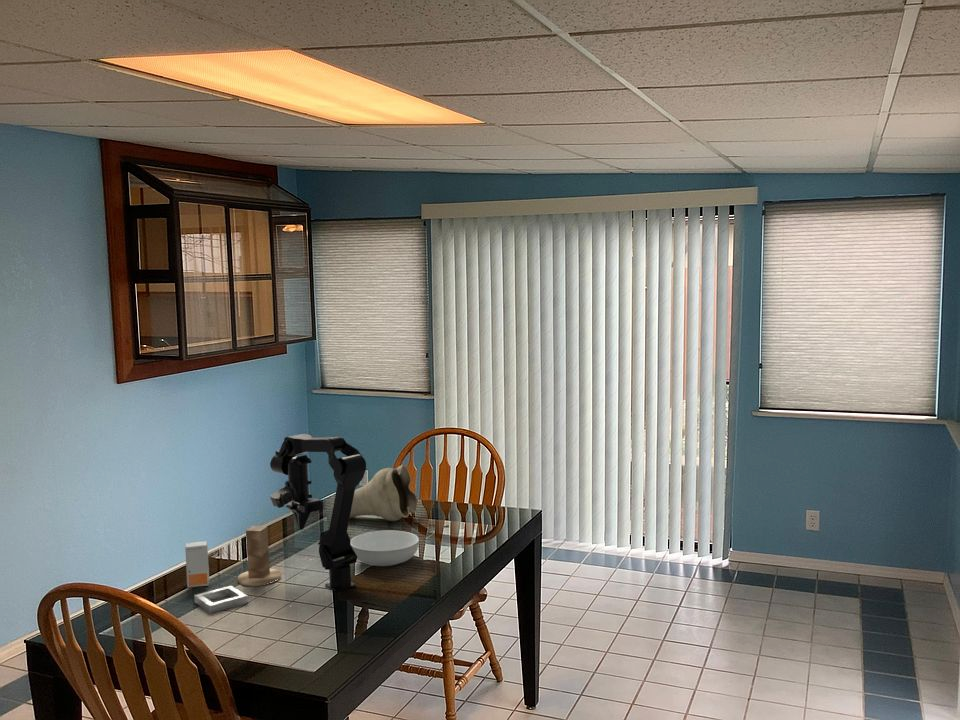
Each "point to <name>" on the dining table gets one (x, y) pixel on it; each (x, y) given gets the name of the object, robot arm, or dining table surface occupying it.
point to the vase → (386, 495)
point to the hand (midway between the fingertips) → (300, 529)
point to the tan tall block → (257, 551)
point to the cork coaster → (247, 581)
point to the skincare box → (197, 564)
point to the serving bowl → (385, 547)
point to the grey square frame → (211, 607)
